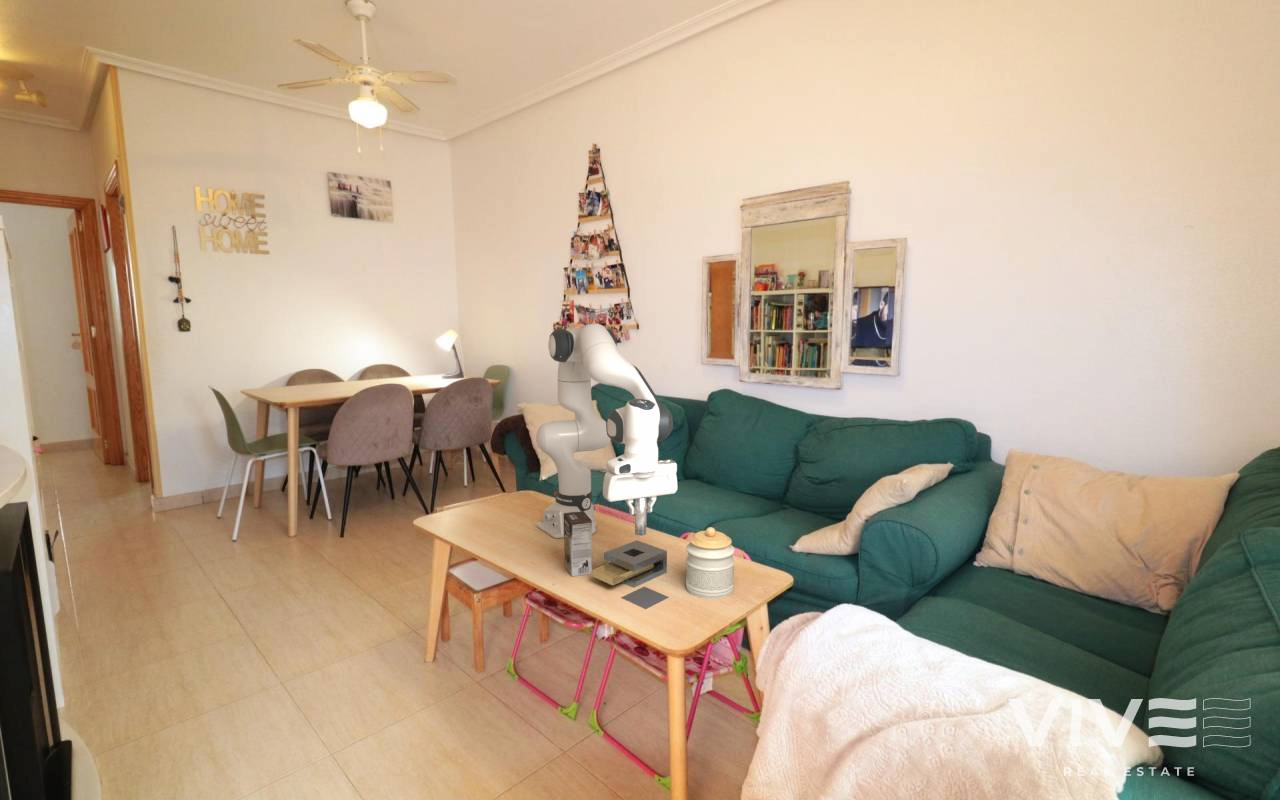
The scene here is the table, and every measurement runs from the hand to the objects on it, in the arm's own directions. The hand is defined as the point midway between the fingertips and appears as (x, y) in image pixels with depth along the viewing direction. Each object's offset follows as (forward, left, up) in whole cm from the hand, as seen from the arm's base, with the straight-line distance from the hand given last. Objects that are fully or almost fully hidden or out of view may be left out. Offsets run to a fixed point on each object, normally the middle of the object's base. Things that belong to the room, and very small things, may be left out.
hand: (640, 513), depth 155 cm
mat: (+4, -2, -22) cm, 22 cm away
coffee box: (-23, -2, -22) cm, 32 cm away
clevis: (-8, +4, -22) cm, 24 cm away
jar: (+13, +14, -22) cm, 29 cm away
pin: (0, 0, -6) cm, 6 cm away
